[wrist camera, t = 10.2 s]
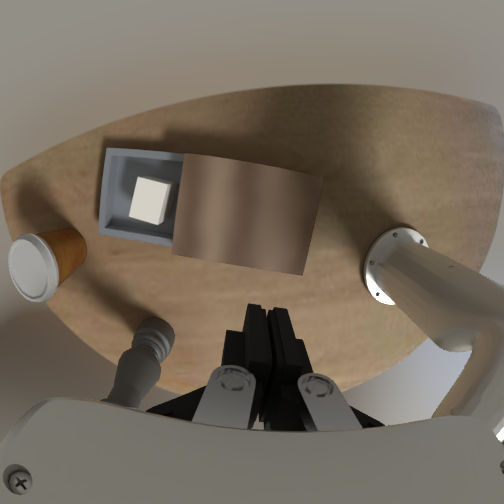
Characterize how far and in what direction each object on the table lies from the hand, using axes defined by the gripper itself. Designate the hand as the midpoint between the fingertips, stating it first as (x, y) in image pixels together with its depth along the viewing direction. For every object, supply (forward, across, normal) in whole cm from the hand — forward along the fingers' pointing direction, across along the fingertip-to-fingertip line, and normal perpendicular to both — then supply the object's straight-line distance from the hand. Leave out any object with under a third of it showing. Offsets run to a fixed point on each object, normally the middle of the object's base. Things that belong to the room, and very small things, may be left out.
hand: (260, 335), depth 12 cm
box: (+27, +15, -2) cm, 31 cm away
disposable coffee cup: (+27, +28, +8) cm, 40 cm away
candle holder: (+27, +12, +20) cm, 36 cm away
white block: (+24, +11, -2) cm, 26 cm away
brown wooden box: (+27, +1, -2) cm, 27 cm away
